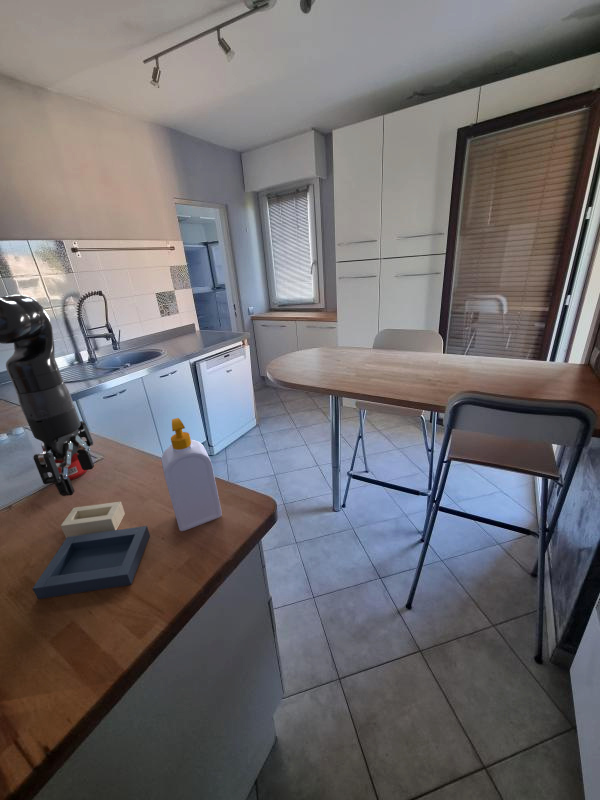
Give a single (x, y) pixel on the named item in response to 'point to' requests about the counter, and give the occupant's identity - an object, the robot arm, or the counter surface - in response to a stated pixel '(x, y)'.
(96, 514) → the frame
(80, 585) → the tray
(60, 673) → the counter surface
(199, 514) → the soap bottle
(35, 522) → the counter surface
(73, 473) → the canned food
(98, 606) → the counter surface
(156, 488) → the counter surface
